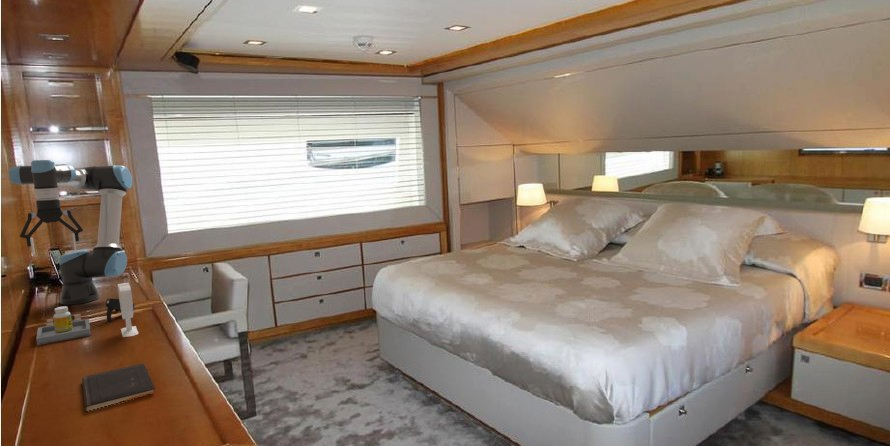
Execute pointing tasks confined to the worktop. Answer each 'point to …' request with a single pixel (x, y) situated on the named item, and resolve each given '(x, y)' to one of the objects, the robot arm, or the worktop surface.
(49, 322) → the socket block
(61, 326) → the supplement bottle
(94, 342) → the worktop surface
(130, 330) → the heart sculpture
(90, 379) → the hardcover book
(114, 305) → the gun
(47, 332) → the tray
